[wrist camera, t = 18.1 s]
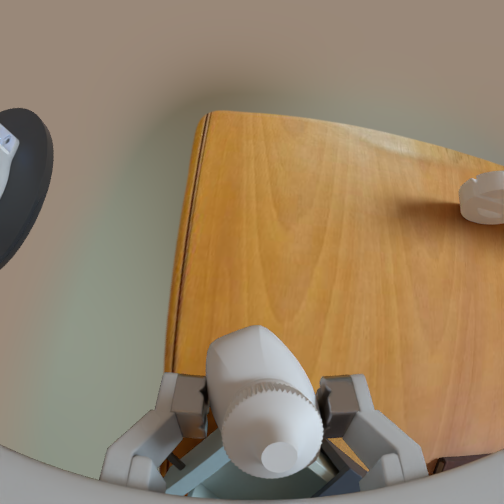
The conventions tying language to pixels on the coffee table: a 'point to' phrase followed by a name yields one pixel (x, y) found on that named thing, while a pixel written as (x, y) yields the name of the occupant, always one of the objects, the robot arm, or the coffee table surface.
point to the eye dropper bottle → (262, 404)
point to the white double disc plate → (483, 198)
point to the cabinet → (340, 472)
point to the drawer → (239, 476)
